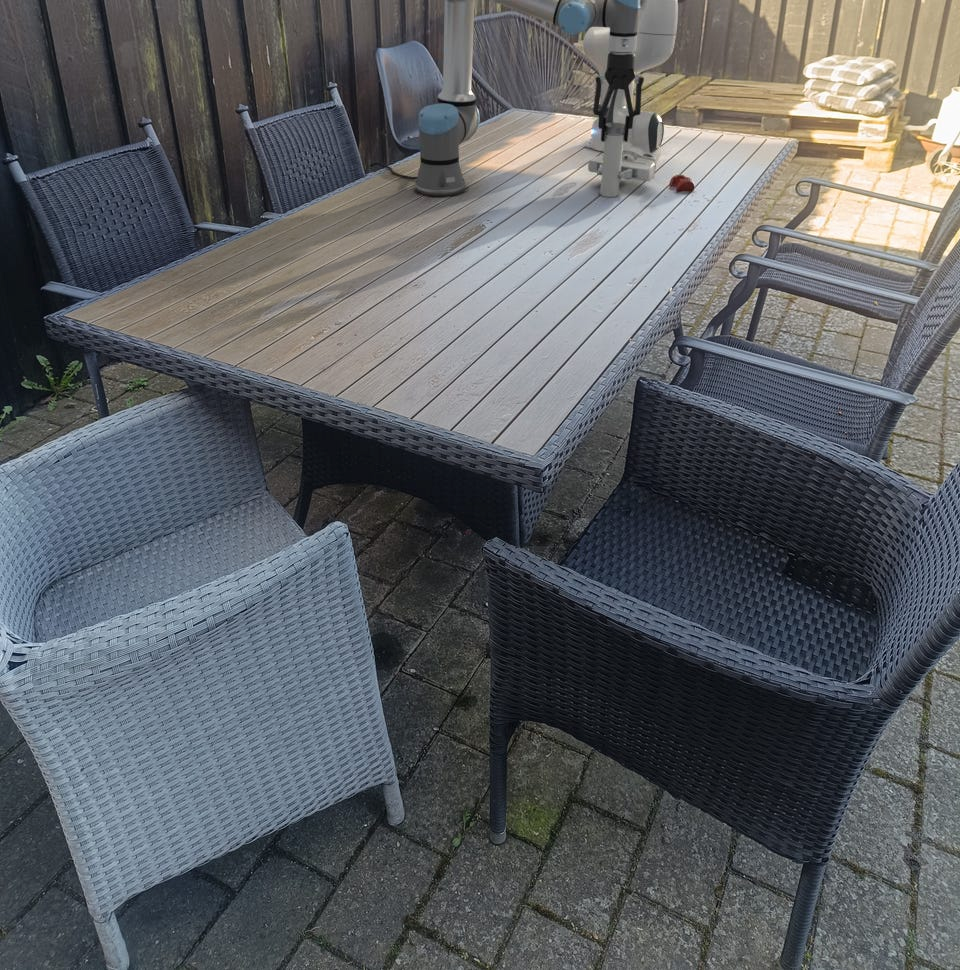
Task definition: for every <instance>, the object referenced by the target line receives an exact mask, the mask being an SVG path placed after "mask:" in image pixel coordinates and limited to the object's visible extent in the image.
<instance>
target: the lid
mask: <svg viewBox="0 0 960 970" xmlns="http://www.w3.org/2000/svg"><path fill="white" fill-rule="evenodd" d="M605 132H606V133H610V134H622V133H625V132H626V125H625V124H622V123H607V124H606V128H605Z"/></svg>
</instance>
